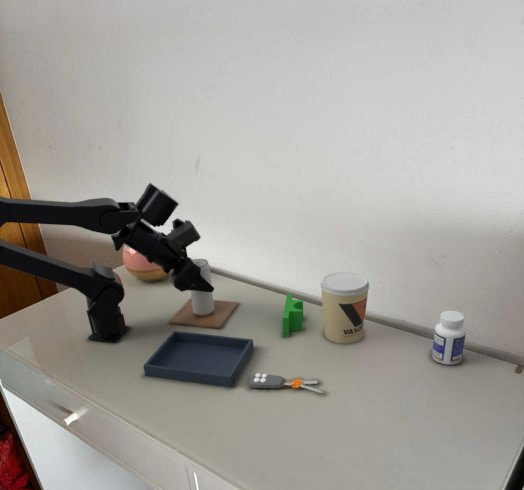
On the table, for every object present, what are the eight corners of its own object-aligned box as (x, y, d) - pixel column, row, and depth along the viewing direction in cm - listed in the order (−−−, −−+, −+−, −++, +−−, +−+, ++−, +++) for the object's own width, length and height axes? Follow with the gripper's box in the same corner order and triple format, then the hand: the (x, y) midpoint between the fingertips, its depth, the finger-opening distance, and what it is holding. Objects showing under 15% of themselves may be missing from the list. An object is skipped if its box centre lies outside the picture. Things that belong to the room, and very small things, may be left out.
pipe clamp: (301, 337, 102) (301, 318, 100) (283, 337, 103) (282, 318, 100) (304, 311, 112) (303, 293, 109) (287, 311, 112) (286, 293, 110)
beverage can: (192, 317, 111) (185, 267, 105) (193, 308, 115) (187, 259, 109) (214, 315, 111) (208, 265, 105) (214, 306, 115) (208, 257, 109)
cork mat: (169, 323, 110) (169, 321, 110) (191, 300, 120) (191, 298, 120) (220, 328, 107) (219, 326, 107) (238, 304, 117) (238, 302, 116)
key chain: (248, 390, 87) (247, 383, 87) (252, 377, 90) (251, 371, 90) (322, 394, 85) (322, 387, 84) (324, 381, 88) (324, 374, 87)
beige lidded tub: (344, 351, 97) (346, 295, 91) (310, 333, 103) (310, 280, 97) (375, 334, 102) (379, 280, 96) (341, 318, 108) (343, 267, 102)
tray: (145, 375, 93) (143, 365, 92) (175, 340, 104) (173, 330, 103) (231, 387, 88) (230, 377, 87) (253, 349, 99) (253, 339, 98)
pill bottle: (460, 351, 94) (467, 310, 90) (462, 366, 90) (469, 324, 85) (431, 349, 96) (436, 307, 91) (431, 363, 91) (437, 321, 87)
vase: (165, 263, 142) (155, 201, 133) (187, 278, 132) (178, 212, 123) (119, 276, 135) (106, 212, 126) (139, 292, 125) (125, 224, 116)
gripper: (183, 224, 93) (243, 268, 101) (163, 200, 108) (217, 240, 117) (148, 271, 94) (210, 310, 103) (134, 241, 110) (189, 278, 118)
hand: (207, 282), depth 110 cm, fingers open, 9 cm apart
